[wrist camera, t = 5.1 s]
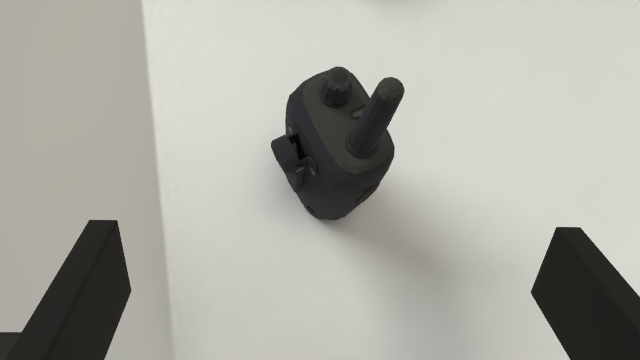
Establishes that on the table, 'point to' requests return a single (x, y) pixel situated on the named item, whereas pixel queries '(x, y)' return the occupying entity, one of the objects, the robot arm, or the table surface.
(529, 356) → the table surface
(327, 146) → the two-way radio
